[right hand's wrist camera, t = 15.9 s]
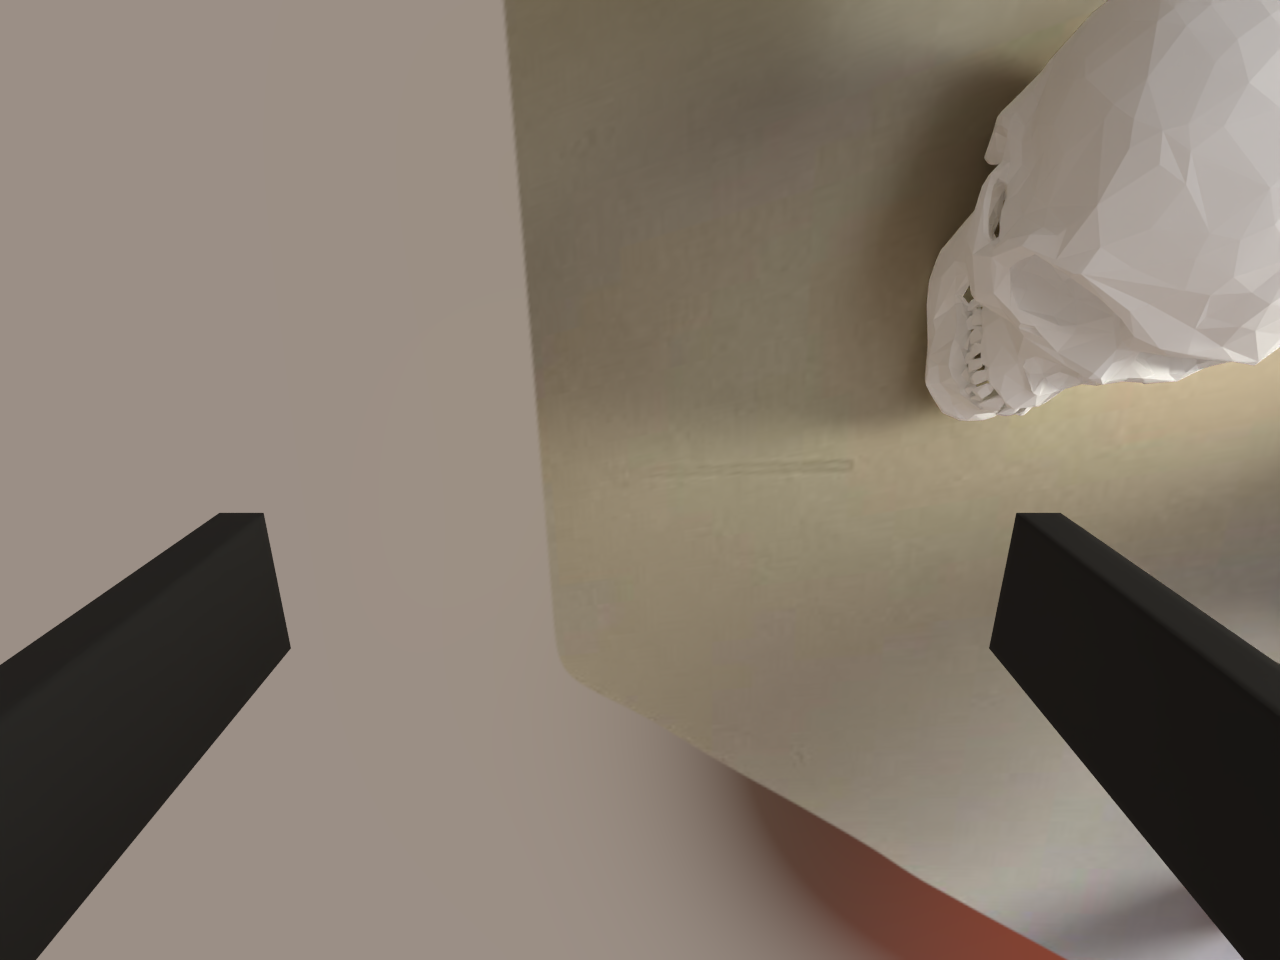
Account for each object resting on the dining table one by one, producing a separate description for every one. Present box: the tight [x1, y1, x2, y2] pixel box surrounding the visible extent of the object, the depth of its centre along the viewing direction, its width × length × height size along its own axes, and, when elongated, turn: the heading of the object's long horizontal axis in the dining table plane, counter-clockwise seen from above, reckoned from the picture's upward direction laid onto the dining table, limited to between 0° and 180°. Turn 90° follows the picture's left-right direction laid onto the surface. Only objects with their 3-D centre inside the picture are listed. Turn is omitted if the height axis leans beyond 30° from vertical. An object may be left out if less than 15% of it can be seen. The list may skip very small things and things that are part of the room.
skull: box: [925, 0, 1280, 421], centre depth 30 cm, size 13×22×16 cm, turn 160°
